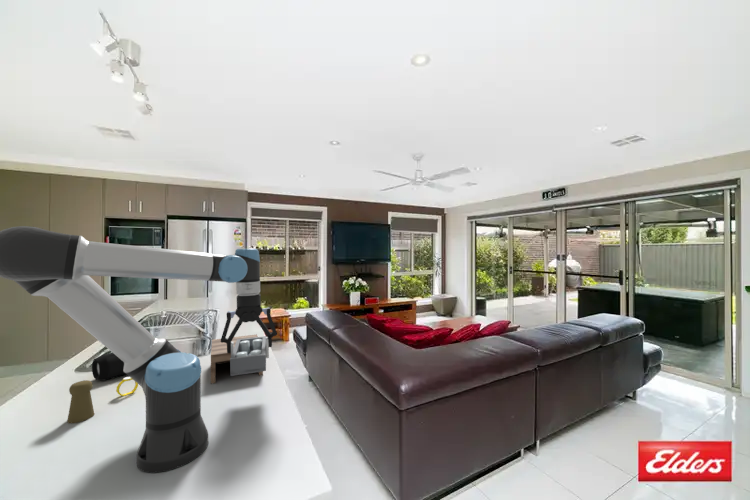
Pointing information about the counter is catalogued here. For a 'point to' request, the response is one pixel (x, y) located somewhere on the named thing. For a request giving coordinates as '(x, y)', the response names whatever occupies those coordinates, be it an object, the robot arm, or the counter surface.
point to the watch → (123, 382)
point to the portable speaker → (107, 367)
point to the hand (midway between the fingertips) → (250, 359)
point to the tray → (248, 356)
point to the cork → (80, 402)
